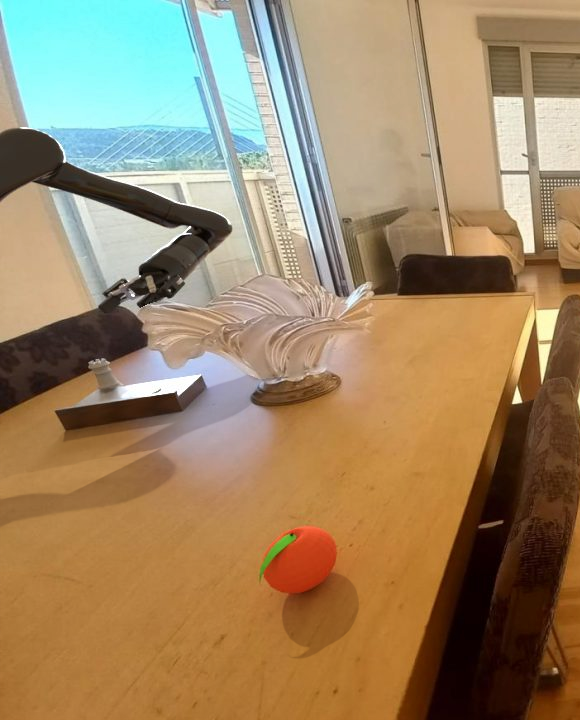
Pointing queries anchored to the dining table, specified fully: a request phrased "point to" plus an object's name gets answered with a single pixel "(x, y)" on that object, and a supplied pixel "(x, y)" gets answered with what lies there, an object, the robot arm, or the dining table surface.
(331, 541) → the clementine
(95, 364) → the rook chess piece
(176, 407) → the shelf
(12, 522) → the dining table surface
